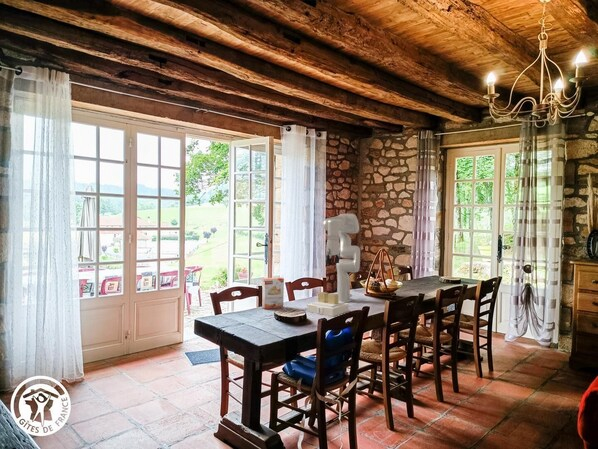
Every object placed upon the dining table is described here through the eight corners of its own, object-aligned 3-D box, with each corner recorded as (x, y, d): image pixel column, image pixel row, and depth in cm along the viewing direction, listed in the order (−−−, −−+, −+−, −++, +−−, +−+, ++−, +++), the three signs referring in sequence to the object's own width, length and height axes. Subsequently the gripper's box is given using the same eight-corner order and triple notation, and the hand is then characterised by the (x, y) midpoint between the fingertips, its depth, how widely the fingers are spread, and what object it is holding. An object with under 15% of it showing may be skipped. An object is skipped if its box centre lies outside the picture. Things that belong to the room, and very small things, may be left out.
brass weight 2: (332, 302, 277) (332, 293, 277) (338, 303, 274) (338, 294, 274) (328, 303, 273) (328, 294, 273) (334, 304, 270) (334, 295, 270)
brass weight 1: (322, 300, 282) (322, 292, 282) (328, 301, 279) (328, 292, 279) (318, 301, 278) (318, 293, 278) (324, 302, 275) (324, 293, 275)
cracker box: (264, 309, 280) (264, 279, 280) (262, 307, 286) (262, 277, 285) (283, 308, 285) (284, 278, 285) (281, 306, 291) (281, 276, 290)
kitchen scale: (323, 306, 290) (323, 298, 290) (348, 310, 278) (348, 302, 278) (306, 312, 273) (306, 303, 273) (332, 316, 261) (332, 307, 261)
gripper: (335, 237, 283) (335, 262, 283) (321, 238, 269) (321, 264, 270) (344, 238, 279) (344, 263, 279) (331, 239, 265) (330, 265, 265)
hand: (333, 263), depth 274 cm, fingers open, 9 cm apart
